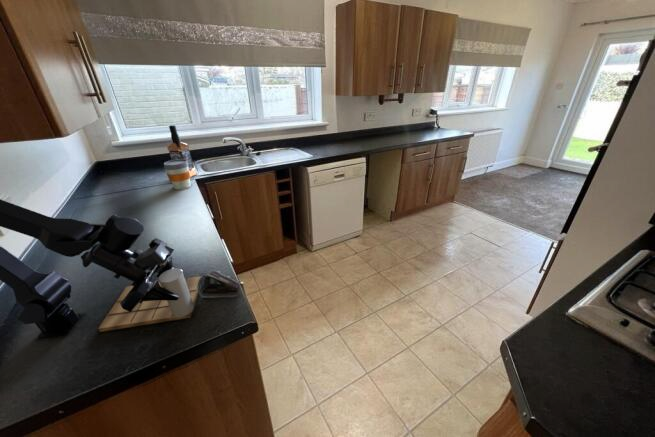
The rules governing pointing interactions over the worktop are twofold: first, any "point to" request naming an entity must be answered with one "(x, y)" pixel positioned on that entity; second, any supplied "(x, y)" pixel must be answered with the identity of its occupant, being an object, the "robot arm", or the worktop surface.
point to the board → (144, 310)
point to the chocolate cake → (217, 285)
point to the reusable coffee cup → (178, 173)
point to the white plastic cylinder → (177, 292)
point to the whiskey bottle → (180, 150)
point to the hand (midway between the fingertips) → (182, 290)
